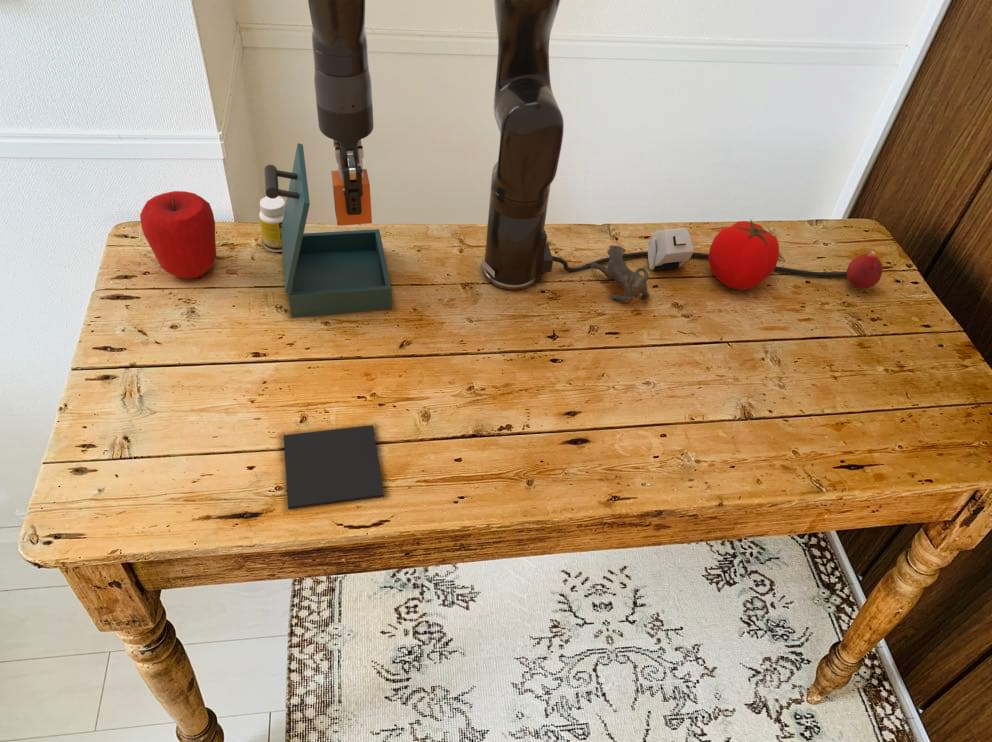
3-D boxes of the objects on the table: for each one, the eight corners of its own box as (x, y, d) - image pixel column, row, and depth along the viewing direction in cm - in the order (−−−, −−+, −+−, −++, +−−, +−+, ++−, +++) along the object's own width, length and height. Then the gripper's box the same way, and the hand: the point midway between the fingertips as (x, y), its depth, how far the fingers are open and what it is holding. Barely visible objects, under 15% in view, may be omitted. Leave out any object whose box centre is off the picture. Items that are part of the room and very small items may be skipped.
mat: (373, 426, 112) (372, 424, 112) (383, 496, 105) (383, 494, 105) (283, 436, 110) (283, 434, 109) (288, 508, 102) (288, 507, 102)
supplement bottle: (285, 255, 135) (280, 213, 129) (259, 249, 136) (251, 207, 130) (296, 239, 139) (291, 197, 133) (270, 233, 139) (264, 191, 133)
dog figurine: (653, 304, 137) (663, 270, 131) (625, 313, 134) (634, 278, 129) (614, 263, 143) (622, 229, 138) (587, 271, 141) (594, 236, 136)
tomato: (708, 297, 140) (726, 245, 131) (697, 256, 147) (714, 204, 139) (774, 302, 141) (797, 250, 133) (760, 261, 148) (780, 210, 140)
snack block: (369, 208, 126) (366, 168, 121) (372, 223, 123) (369, 183, 118) (335, 210, 125) (331, 170, 119) (337, 225, 122) (333, 185, 117)
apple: (217, 244, 136) (201, 172, 126) (230, 281, 130) (215, 209, 120) (150, 255, 132) (129, 183, 122) (160, 294, 126) (139, 221, 116)
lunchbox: (379, 249, 139) (379, 229, 136) (391, 309, 129) (391, 288, 126) (286, 255, 136) (283, 234, 132) (291, 317, 126) (288, 296, 122)
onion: (874, 284, 147) (893, 249, 141) (869, 302, 144) (889, 266, 138) (842, 273, 149) (860, 238, 143) (837, 291, 145) (855, 255, 139)
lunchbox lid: (303, 144, 122) (265, 136, 119) (309, 203, 112) (269, 196, 109) (285, 232, 132) (251, 227, 130) (290, 294, 122) (253, 289, 120)
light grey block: (644, 273, 145) (668, 261, 136) (639, 237, 145) (662, 222, 136) (674, 270, 147) (700, 258, 137) (668, 234, 147) (694, 220, 137)
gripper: (378, 122, 106) (383, 231, 119) (366, 71, 115) (372, 177, 128) (319, 125, 104) (331, 234, 117) (312, 73, 113) (323, 180, 126)
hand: (352, 204), depth 122 cm, fingers closed on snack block, 4 cm apart
